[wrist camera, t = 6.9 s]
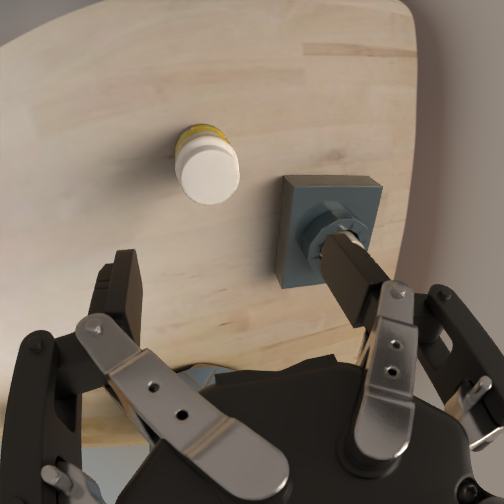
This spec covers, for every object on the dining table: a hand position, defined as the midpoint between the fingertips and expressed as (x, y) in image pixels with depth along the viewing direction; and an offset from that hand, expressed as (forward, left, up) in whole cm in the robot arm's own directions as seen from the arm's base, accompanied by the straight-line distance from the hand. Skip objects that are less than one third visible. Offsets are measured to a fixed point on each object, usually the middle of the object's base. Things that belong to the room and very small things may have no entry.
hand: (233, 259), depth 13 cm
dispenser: (+9, +13, -18) cm, 24 cm away
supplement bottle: (0, 0, -18) cm, 18 cm away
